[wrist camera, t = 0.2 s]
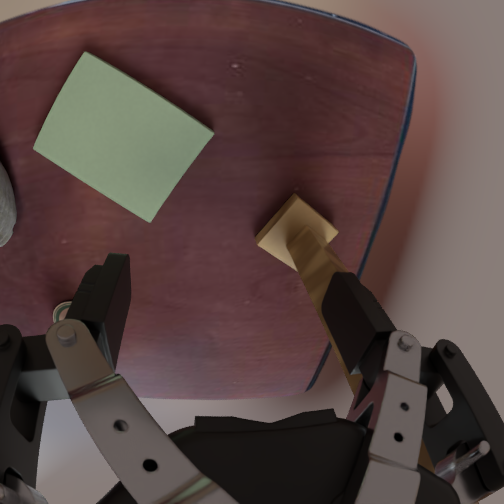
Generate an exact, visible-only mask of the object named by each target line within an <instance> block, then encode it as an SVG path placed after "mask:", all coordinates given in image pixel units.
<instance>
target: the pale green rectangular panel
mask: <svg viewBox="0 0 504 504" xmlns="http://www.w3.org/2000/svg"><path fill="white" fill-rule="evenodd" d="M213 135H214V131H213V130H211V129H210V128H208V127H207V126H205V125H204V124H203V123H201V122H200V121H198V120H197V119H195V118H194V117H193V116H191V115H190V114H188V113H187V112H185V111H184V110H182V109H181V108H179V107H178V106H176V105H175V104H173V103H172V102H170V101H169V100H167V99H166V98H164V97H163V96H161V95H160V94H158V93H156V92H155V91H153V90H152V89H150V88H149V87H147V86H145V85H144V84H142V83H141V82H139V81H137V80H136V79H134V78H133V77H131V76H129V75H128V74H126V73H124V72H123V71H121V70H119V69H118V68H116V67H114V66H113V65H111V64H109V63H107V62H106V61H104V60H102V59H101V58H99V57H97V56H95V55H93V54H92V53H90V52H86V51H85V52H84V53H83V55H82V56H81V58H80V59H79V61H78V62H77V64H76V66H75V67H74V69H73V70H72V72H71V74H70V75H69V77H68V79H67V81H66V82H65V84H64V86H63V87H62V89H61V91H60V93H59V95H58V97H57V98H56V100H55V102H54V104H53V106H52V108H51V110H50V112H49V114H48V116H47V118H46V120H45V122H44V124H43V127H42V129H41V131H40V133H39V135H38V138H37V140H36V142H35V145H34V147H33V149H34V150H36V151H37V152H39V153H40V154H42V155H43V156H45V157H46V158H48V159H49V160H51V161H52V162H54V163H55V164H57V165H58V166H60V167H62V168H63V169H65V170H66V171H68V172H69V173H71V174H72V175H74V176H75V177H77V178H79V179H80V180H82V181H83V182H85V183H86V184H88V185H90V186H91V187H93V188H94V189H96V190H97V191H99V192H101V193H102V194H104V195H105V196H107V197H109V198H110V199H112V200H113V201H115V202H117V203H118V204H120V205H121V206H123V207H125V208H126V209H128V210H129V211H131V212H133V213H134V214H136V215H137V216H139V217H141V218H142V219H144V220H146V221H147V222H149V223H150V222H151V221H152V219H153V218H154V216H155V215H156V213H157V212H158V210H159V209H160V207H161V206H162V204H163V203H164V201H165V200H166V198H167V197H168V196H169V194H170V193H171V191H172V190H173V188H174V187H175V186H176V184H177V183H178V181H179V180H180V179H181V177H182V176H183V174H184V173H185V172H186V170H187V169H188V168H189V166H190V165H191V164H192V162H193V161H194V160H195V158H196V157H197V156H198V154H199V153H200V152H201V150H202V149H203V148H204V146H205V145H206V144H207V142H208V141H209V140H210V139H211V137H212V136H213Z"/></svg>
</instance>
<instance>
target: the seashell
mask: <svg viewBox="0 0 504 504" xmlns="http://www.w3.org/2000/svg"><path fill="white" fill-rule="evenodd" d="M16 213H17V211H16V204H15V198H14V193H13V189H12V185H11V182H10V179H9V177H8V174H7V172H6V170H5V168H4V167H3V165H2V164H1V162H0V247H1V246H3V245H4V244H6V243H7V241H8V240H9V239H10V237H11V236H12V233H13V231H12V228H13V226H14V224H15V223H16Z"/></svg>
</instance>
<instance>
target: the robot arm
mask: <svg viewBox="0 0 504 504" xmlns="http://www.w3.org/2000/svg"><path fill="white" fill-rule="evenodd" d="M130 301H131V276H130V257H129V254H119V253H109V254H108V256H107V258H106V260H105V262H104V265H103V266H102V265H94V266H93V267H92V268H91V269H89V270H88V271H87V272H86V273H85V275H84V277H83V279H82V281H81V284H80V285H79V287H78V291H77V292H76V294H75V296H74V298H73V300H72V302H71V305H70V307H69V309H68V311H67V313H66V316H65V318H64V319H63V320H60V321H57V322H56V323H54V324H53V325H51V326H50V328H49V329H48V330H47V332H46V334H44V335H38V336H27V337H22V335H21V333H20V331H19V329H18V328H16V327H15V326H13V325H9V324H4V325H0V504H48V502H47V500H46V499H45V498H44V496H43V495H42V494H41V493H40V492H38V491H37V490H36V476H37V464H38V456H39V447H40V441H41V434H42V427H43V421H44V416H45V410H46V406H47V401H49V400H61V399H71V401H72V403H73V405H74V407H75V409H76V411H77V413H78V415H79V417H80V418H81V420H82V422H83V424H84V426H85V427H86V429H87V431H88V432H89V434H90V436H91V437H92V439H93V441H94V442H95V444H96V446H97V447H98V449H99V450H100V452H101V453H102V455H103V456H104V458H105V460H106V461H107V463H108V464H109V466H110V467H111V468H112V470H113V471H114V473H115V474H116V475H117V477H118V478H119V480H120V481H119V482H118V483H117V484H116V485H115V486H114V487H113V488H112V489H111V490H110V491H109V492H108V493H107V494H106V495H105V496H104V497H103V498H102V499H101V500H100V501H99V502H97V503H96V504H474V503H476V502H478V501H480V500H482V499H484V498H486V497H487V496H489V495H491V494H493V493H494V492H496V491H498V490H499V489H501V488H502V487H504V423H503V421H502V419H501V417H500V415H499V413H498V411H497V410H496V408H495V406H494V404H493V402H492V401H491V399H490V397H489V395H488V394H487V392H486V390H485V389H484V387H483V385H482V383H481V382H480V380H479V379H478V377H477V375H476V374H475V372H474V370H473V369H472V367H471V366H470V364H469V363H468V361H467V359H466V358H465V356H464V355H463V353H462V352H461V350H460V349H459V348H458V347H457V346H456V345H455V344H454V343H453V342H451V341H449V340H445V339H441V340H439V341H438V342H437V343H436V345H435V346H434V348H427V347H421V345H420V343H419V341H418V340H417V339H416V338H415V337H414V336H413V335H411V334H410V333H408V332H405V331H401V330H397V329H396V328H395V326H394V325H393V323H392V322H391V320H390V319H389V317H388V316H387V314H386V313H385V311H384V310H383V309H382V307H381V305H380V304H379V302H377V300H376V298H375V297H374V295H373V294H372V292H371V291H369V290H368V289H367V288H366V287H365V286H363V285H362V284H361V283H360V281H359V280H358V278H357V277H356V276H355V274H354V273H352V272H335V273H334V274H333V275H332V278H331V280H330V283H329V285H328V288H327V290H326V293H325V295H324V298H323V301H322V305H321V311H322V315H323V318H324V320H325V322H326V324H327V326H328V328H329V331H330V333H331V335H332V337H333V339H334V341H335V344H336V346H337V348H338V350H339V352H340V354H341V357H342V359H343V361H344V363H345V366H346V368H347V370H348V372H349V374H350V375H354V374H362V376H363V377H362V378H361V380H360V381H359V384H358V387H357V390H356V393H355V396H354V399H353V402H352V405H351V407H350V410H349V413H348V415H347V417H346V419H342V418H337V417H336V414H335V412H334V409H325V410H318V411H309V412H302V413H300V414H297V415H294V416H291V417H288V418H285V419H282V420H279V421H276V422H273V423H266V422H259V421H253V420H248V419H242V418H237V417H232V416H231V417H211V416H195V423H194V426H189V427H185V428H182V429H179V430H177V431H174V432H172V433H170V434H168V435H167V434H166V433H165V432H164V431H163V429H162V428H161V427H160V426H159V425H158V423H157V422H156V421H155V420H154V419H153V417H152V416H151V415H150V413H149V412H148V411H147V410H146V408H145V407H144V405H143V404H142V403H141V402H140V400H139V399H138V397H137V396H136V395H135V393H134V392H133V391H132V389H131V388H130V386H129V385H128V384H127V382H126V381H125V379H124V378H123V377H122V376H121V375H120V374H117V375H116V374H115V373H114V372H115V369H116V364H117V359H118V354H119V350H120V345H121V340H122V336H123V331H124V327H125V323H126V318H127V314H128V310H129V306H130ZM443 384H445V386H446V388H447V390H448V391H449V393H450V395H451V397H452V399H453V408H452V410H451V411H450V412H449V413H448V414H446V412H445V410H444V408H443V406H442V404H441V402H440V400H439V398H438V396H437V394H436V391H437V390H438V389H439V388H440V387H441V386H442V385H443ZM422 439H423V442H424V444H425V447H426V449H427V452H428V454H429V457H430V459H431V462H432V464H433V467H434V470H435V474H434V473H433V472H431V471H429V470H428V469H426V468H425V467H423V466H421V465H420V464H418V458H419V452H420V447H421V440H422Z"/></svg>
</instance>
